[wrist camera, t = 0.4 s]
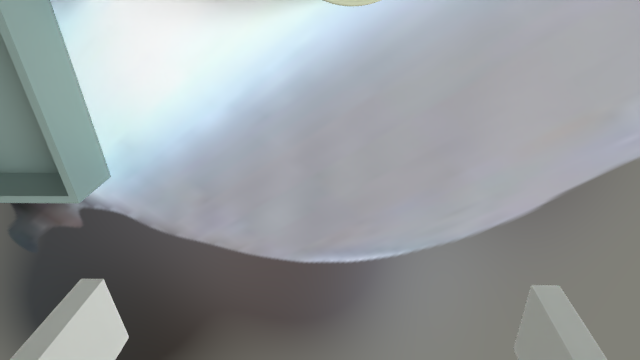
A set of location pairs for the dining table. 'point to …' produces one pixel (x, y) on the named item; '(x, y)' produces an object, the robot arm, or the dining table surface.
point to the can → (352, 2)
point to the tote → (42, 113)
